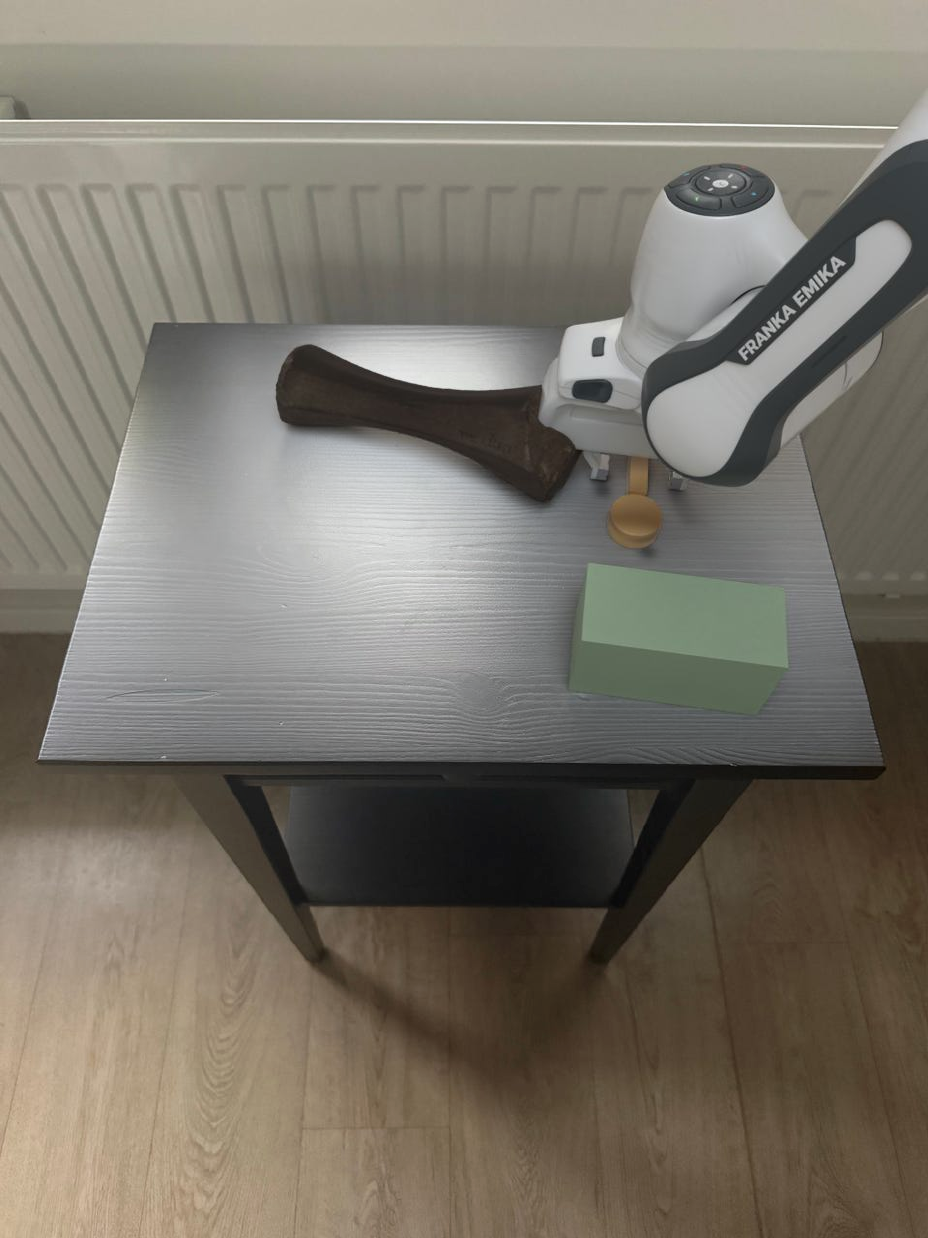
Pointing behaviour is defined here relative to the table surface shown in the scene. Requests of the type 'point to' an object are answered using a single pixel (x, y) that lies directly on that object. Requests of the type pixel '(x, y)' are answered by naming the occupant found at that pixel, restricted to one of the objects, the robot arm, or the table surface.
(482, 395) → the dark brown bone
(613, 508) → the spoon
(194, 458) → the table surface
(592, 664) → the sage green box
